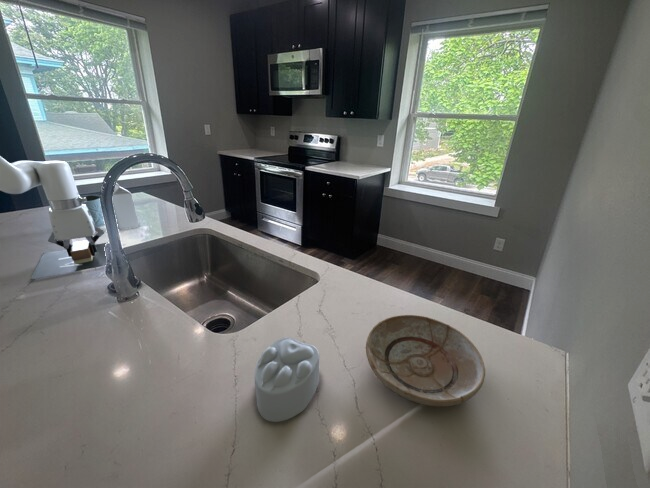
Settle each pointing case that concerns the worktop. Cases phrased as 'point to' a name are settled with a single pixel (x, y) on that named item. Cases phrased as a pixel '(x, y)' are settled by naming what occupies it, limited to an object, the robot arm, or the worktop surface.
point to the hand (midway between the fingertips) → (84, 255)
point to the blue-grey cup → (94, 208)
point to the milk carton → (124, 208)
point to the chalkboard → (66, 263)
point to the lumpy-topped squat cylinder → (286, 379)
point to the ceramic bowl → (425, 360)
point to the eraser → (81, 252)
